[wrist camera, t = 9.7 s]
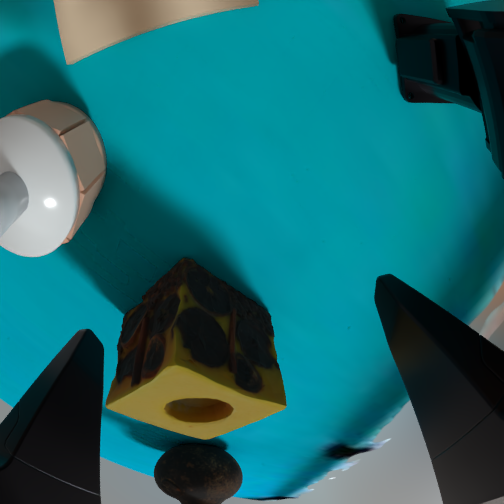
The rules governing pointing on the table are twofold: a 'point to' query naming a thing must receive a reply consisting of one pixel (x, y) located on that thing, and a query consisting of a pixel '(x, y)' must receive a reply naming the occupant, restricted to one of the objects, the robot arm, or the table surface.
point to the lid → (35, 187)
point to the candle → (196, 357)
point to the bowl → (75, 149)
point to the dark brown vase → (198, 474)
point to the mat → (125, 20)
